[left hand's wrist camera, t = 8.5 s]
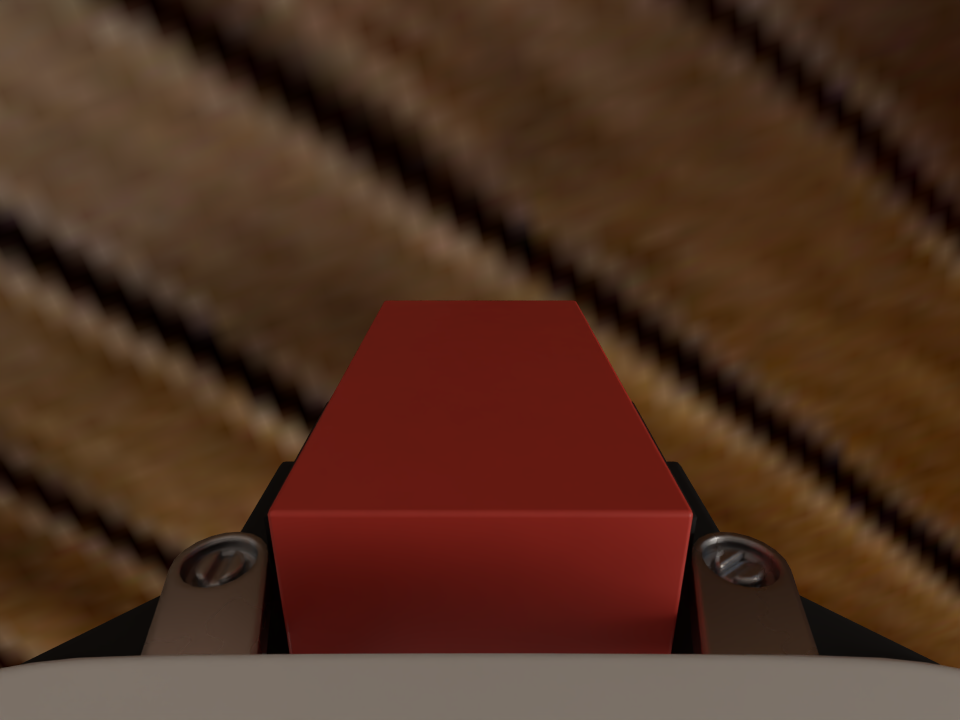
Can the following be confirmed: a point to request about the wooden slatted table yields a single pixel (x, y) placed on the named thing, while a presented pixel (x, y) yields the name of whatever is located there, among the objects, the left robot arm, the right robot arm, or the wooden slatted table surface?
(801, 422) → the wooden slatted table surface
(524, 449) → the brick
